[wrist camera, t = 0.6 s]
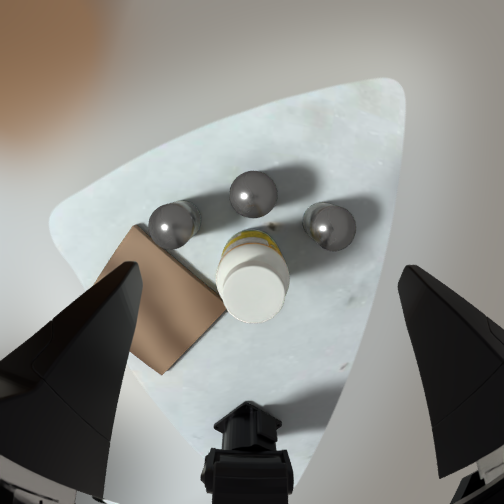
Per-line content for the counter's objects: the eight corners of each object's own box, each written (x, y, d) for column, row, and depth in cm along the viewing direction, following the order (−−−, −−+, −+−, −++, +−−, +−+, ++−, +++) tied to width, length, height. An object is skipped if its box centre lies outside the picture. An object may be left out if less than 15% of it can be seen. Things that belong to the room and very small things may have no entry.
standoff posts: (338, 240, 27) (354, 251, 23) (164, 238, 27) (149, 249, 22) (341, 177, 26) (358, 176, 21) (163, 174, 25) (147, 173, 21)
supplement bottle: (222, 228, 27) (209, 253, 17) (281, 228, 27) (298, 253, 17) (223, 283, 28) (212, 332, 19) (278, 284, 28) (293, 332, 19)
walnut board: (163, 371, 30) (161, 375, 30) (82, 305, 28) (79, 308, 28) (229, 303, 28) (228, 306, 28) (136, 224, 26) (133, 225, 26)
